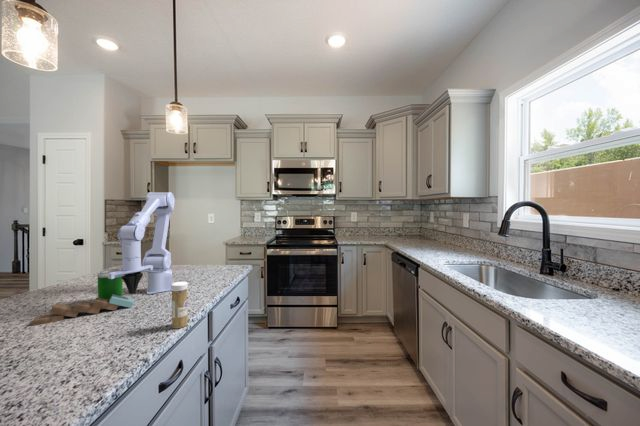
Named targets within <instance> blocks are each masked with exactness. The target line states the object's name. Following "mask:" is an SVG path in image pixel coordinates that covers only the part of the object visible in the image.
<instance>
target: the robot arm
mask: <svg viewBox="0 0 640 426" xmlns="http://www.w3.org/2000/svg"><path fill="white" fill-rule="evenodd" d="M174 195H175V194H173V192H171V191H169V192H167V191H166V192H164V191H163V192H157V191H155V192H153V191H149V192H148V193H147V194H146V196H145V204H144V206H142V209H141V211H137V212H135V213H134V215H132V217H131V219H130V220H129V221H128V222H127V223H126V225H122V226H121V227H120V228H119V229H118V232H117V238H118V241H119V245H120V246H121V263H122V264H121V267H122V269H119V271H115V272H111V273H108V279H114V278H117V277H121V278H122V282H123V283H125V286H126V288H127V292H128V294H130V295H134V294H136V293H137V289H138V287H139V284H140V281H141V279H142V278H143V276H144V273H143V272H145V273H147V288H146V290H145V291H146V294H147V295H152V294H157V293H163V292H169V291H171V284H173V283H174V282H173V271H172V269H171V265H172V253H171V252H170V251H169V250H167V249H166V243H167V238H168V231H169V225H170V219H171V213H172V212H174V209H175V202H176V198H175V196H174ZM153 213H155V214H156V215H157V216H156V220H155V221H156V222H155V227H154V234H153V239H152V246H151V248H150V249H149V250H147V251H145V253H144V257H143V259H142V252H141V251H142V250H141V249H142V247H141V244H142V243H141V242H142V241H141V240H142V239H143V238H144V237H145V232H146V228H147V226H148V224H149V223H150V222H151V215H152V214H153Z"/></svg>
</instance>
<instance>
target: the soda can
mask: <svg viewBox="0 0 640 426" xmlns="http://www.w3.org/2000/svg"><path fill="white" fill-rule="evenodd" d="M119 270H120V269H118V268H112V269H106V270H102V271H100V272H99V273H98V274H97V297H98V298H103V299H109V300H110V298H111V296H112V295H113V294H114V295H119V296H123V295H124V294H123V279H122V278H121V277H117V278H114V279H108V273H111V272H115V271H119ZM123 297H124V296H123Z"/></svg>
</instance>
